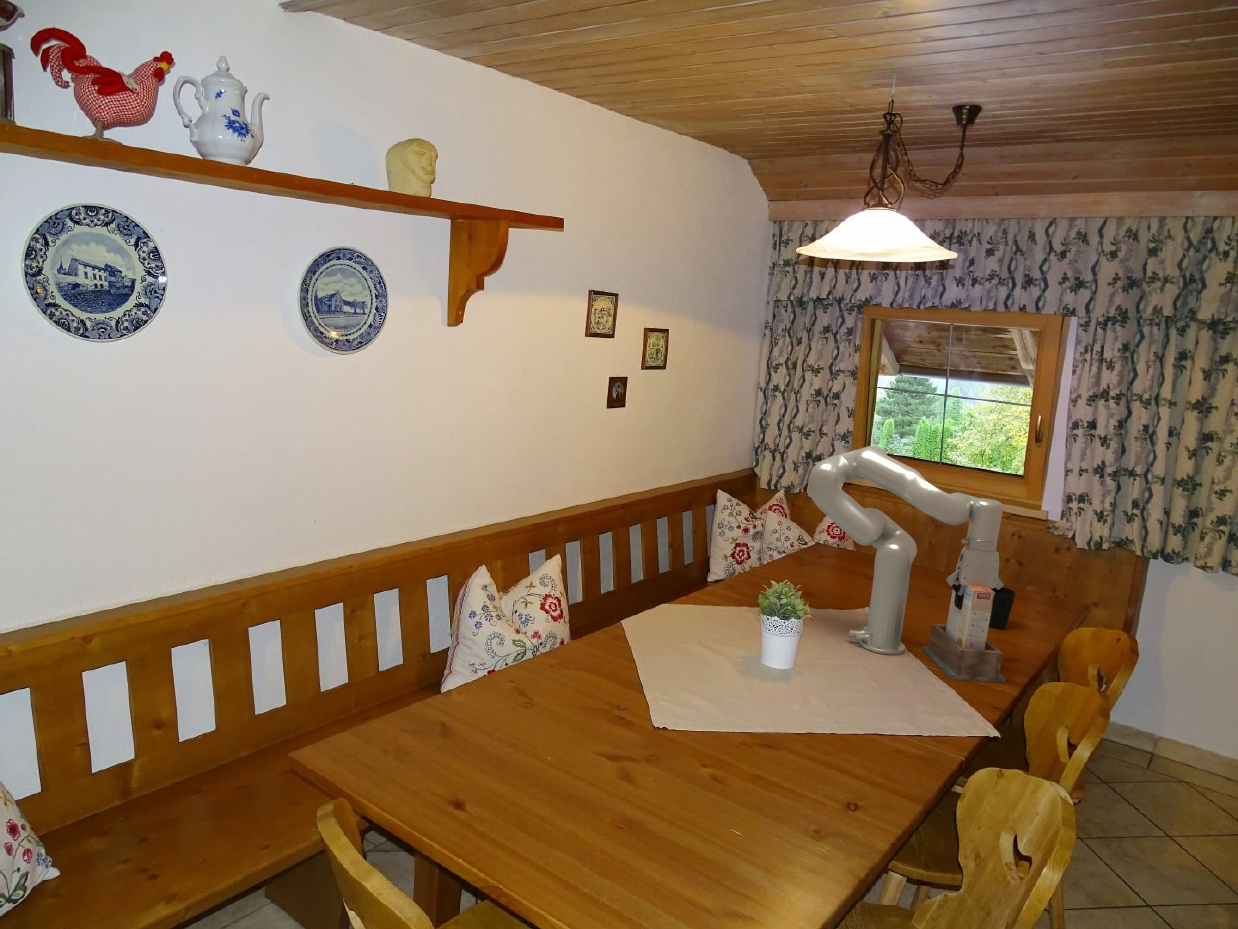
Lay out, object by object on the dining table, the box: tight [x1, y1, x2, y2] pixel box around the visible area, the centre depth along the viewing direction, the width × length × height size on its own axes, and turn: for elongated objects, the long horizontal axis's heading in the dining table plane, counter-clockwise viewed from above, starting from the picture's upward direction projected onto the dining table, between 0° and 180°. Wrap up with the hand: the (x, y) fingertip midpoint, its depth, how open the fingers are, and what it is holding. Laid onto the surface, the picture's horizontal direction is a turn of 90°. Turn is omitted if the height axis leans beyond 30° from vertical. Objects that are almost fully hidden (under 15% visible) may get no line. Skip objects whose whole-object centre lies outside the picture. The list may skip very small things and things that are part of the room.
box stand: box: [920, 623, 1006, 683], centre depth 241 cm, size 15×20×8 cm
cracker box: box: [946, 580, 995, 650], centre depth 240 cm, size 14×6×21 cm, turn 179°
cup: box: [988, 586, 1017, 631], centre depth 276 cm, size 8×8×12 cm
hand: (970, 608), depth 239 cm, fingers closed on cracker box, 6 cm apart
